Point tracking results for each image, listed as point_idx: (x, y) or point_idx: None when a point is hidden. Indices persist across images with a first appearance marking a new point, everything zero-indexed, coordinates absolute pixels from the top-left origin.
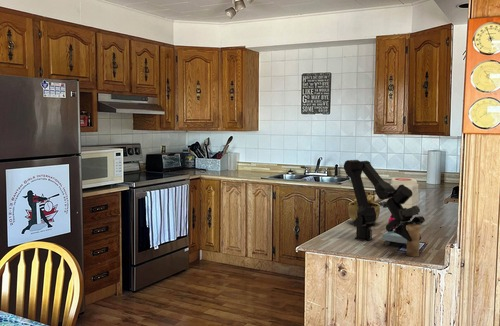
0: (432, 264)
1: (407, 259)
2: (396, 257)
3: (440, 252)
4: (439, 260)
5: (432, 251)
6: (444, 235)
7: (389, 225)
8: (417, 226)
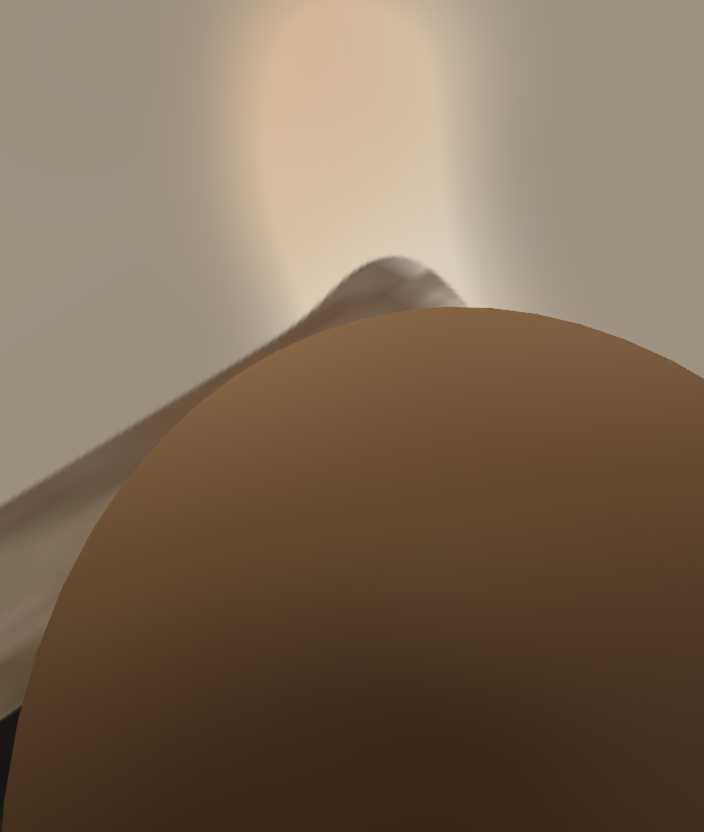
0: (457, 295)
1: None
2: None
3: (7, 502)
4: (298, 334)
5: (30, 585)
6: None
7: None
8: (540, 321)
